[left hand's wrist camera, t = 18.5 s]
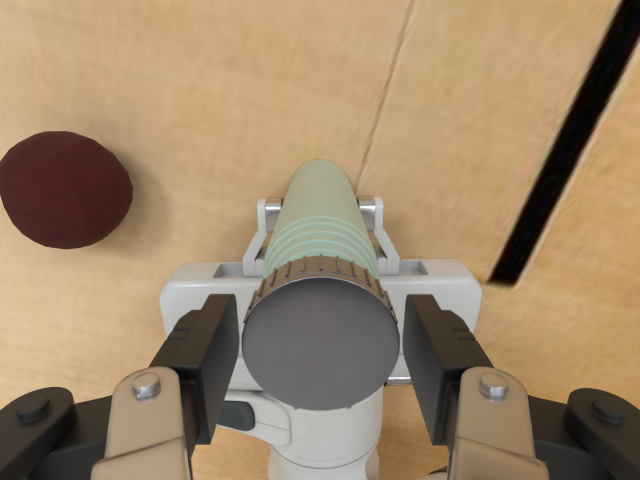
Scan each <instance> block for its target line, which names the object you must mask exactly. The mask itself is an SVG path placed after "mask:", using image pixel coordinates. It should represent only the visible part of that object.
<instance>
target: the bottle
mask: <svg viewBox="0 0 640 480" xmlns="http://www.w3.org/2000/svg"><path fill="white" fill-rule="evenodd" d="M320 254H322V256H331V257H336V256H339V258H341V259H345V260H348V261H350V262H351V261H352V260H353V261H355V264H357V265H359V266H361V267H362V268H364V269H366V268H367V269H368V270H369V273H370V274H371V275H372V276H374V277H375V278H376V279H377V278H378V267H377V258H376V254H375V251H374V248H373V245H372V242H371V239H370V237H369V234H368V231H367V228H366V226H365V223H364V220H363V217H362V214H361V212H360V209H359V206H358V203H357V200H356V198H355V195H354V192H353V189H352V186H351V184H350V181H349V178H348V176H347V174H346V173H345V171H344V170H343V169H342V168H341V167H340V166H339V165H337V164H336V163H334V162H332V161H329V160H324V159H316V160H312V161H309V162H307V163H305V164H303V165H302V166H300V167H299V168H298V169H297V171H296V172H295V173H294V175H293V177H292V179H291V182H290V185H289V188H288V191H287V194H286V196H285V199H284V202H283V205H282V208H281V211H280V213H279V216H278V219H277V222H276V225H275V228H274V231H273V233H272V236H271V239H270V242H269V245H268V248H267V251H266V254H265V257H264V263H263V278H265V279H266V278H267V277H268V276H269V275H270V274H271V273H272V272H273V269H274V268H276V269H278V268H279V267H281V266H283V265H284V264H286V263H287V261H289V260H290V262H291V261H294V260H296V259H300V258H303V256H306V257H311V256H320Z"/></svg>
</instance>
